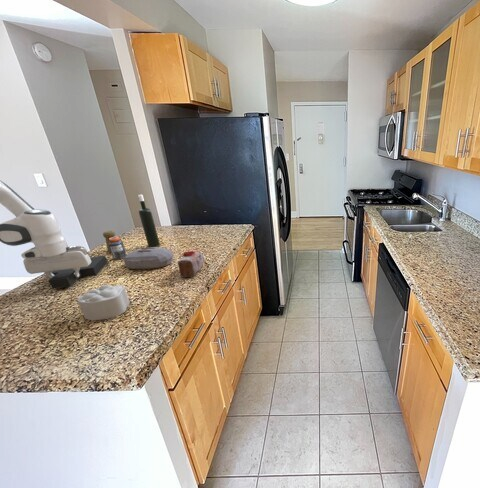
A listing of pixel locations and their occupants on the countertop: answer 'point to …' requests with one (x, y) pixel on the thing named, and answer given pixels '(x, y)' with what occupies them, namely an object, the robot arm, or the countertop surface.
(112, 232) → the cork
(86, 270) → the base pad
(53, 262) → the robot arm
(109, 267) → the countertop surface
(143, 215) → the wine bottle
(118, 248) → the pill bottle
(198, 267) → the food item
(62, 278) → the pad
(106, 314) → the lumpy-topped squat cylinder
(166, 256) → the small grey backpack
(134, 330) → the countertop surface
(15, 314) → the countertop surface
